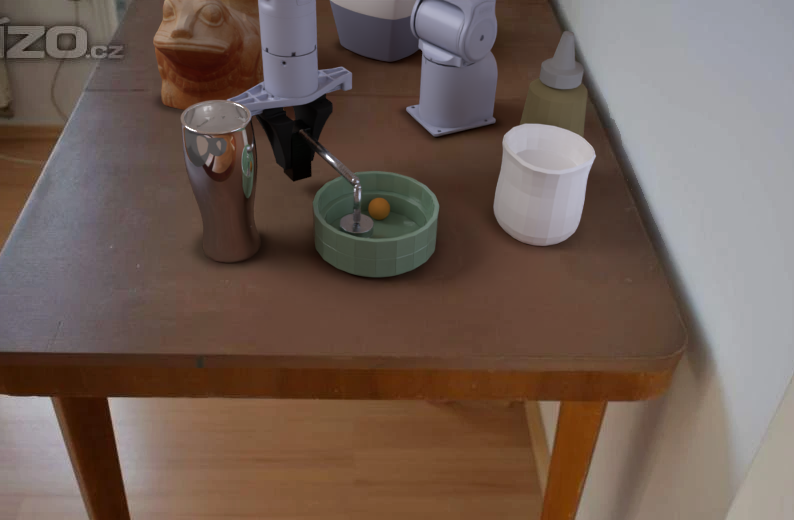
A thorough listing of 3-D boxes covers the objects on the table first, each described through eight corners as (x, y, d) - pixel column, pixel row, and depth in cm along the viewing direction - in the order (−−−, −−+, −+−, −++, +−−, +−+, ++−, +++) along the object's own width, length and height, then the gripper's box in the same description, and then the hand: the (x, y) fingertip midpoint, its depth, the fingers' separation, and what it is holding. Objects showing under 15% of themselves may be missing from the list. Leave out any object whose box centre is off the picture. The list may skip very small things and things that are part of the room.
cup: (560, 259, 89) (577, 180, 83) (475, 229, 93) (485, 151, 86) (590, 216, 96) (608, 139, 89) (510, 190, 99) (522, 114, 92)
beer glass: (207, 271, 85) (187, 139, 75) (191, 234, 90) (170, 105, 80) (273, 257, 87) (262, 127, 77) (254, 221, 92) (242, 94, 82)
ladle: (379, 236, 88) (382, 183, 84) (350, 245, 87) (351, 192, 82) (306, 166, 98) (305, 115, 93) (278, 173, 96) (276, 122, 92)
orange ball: (374, 222, 91) (385, 225, 93) (387, 204, 90) (397, 208, 92) (360, 209, 91) (371, 212, 94) (372, 191, 91) (383, 195, 93)
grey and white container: (311, 47, 126) (309, -30, 118) (372, 16, 135) (373, -57, 128) (395, 76, 120) (398, -3, 112) (452, 42, 129) (459, -33, 122)
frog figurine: (136, 122, 107) (114, 4, 97) (204, 40, 126) (191, -66, 116) (242, 135, 106) (230, 16, 96) (293, 49, 125) (288, -57, 115)
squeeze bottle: (536, 155, 105) (561, 12, 93) (589, 182, 101) (622, 35, 89) (494, 178, 101) (514, 30, 88) (548, 207, 97) (576, 56, 84)
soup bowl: (400, 199, 97) (402, 160, 93) (457, 261, 88) (462, 222, 85) (295, 226, 92) (293, 187, 88) (346, 294, 84) (346, 254, 80)
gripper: (325, 17, 92) (328, 129, 101) (207, 47, 85) (221, 164, 94) (363, 40, 88) (362, 154, 97) (242, 73, 81) (253, 193, 90)
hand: (295, 161), depth 96 cm, fingers closed on ladle, 2 cm apart
